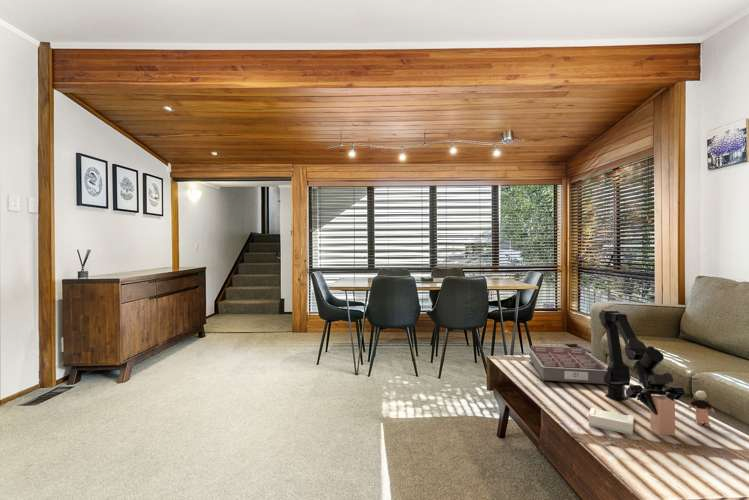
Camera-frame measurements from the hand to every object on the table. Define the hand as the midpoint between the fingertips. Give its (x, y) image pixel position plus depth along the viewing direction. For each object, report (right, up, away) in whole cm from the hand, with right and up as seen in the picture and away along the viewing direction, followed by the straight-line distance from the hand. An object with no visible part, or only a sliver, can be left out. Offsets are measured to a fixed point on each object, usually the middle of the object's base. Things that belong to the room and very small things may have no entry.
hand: (664, 414), depth 143 cm
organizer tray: (-1, -7, +71) cm, 72 cm away
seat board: (-14, -7, +9) cm, 18 cm away
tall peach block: (0, -7, +1) cm, 7 cm away
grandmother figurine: (+19, -7, +7) cm, 22 cm away
